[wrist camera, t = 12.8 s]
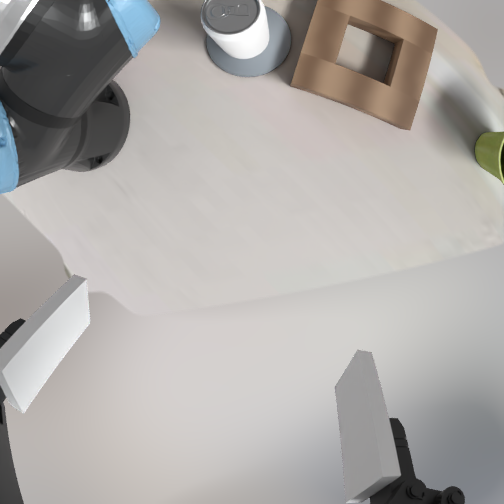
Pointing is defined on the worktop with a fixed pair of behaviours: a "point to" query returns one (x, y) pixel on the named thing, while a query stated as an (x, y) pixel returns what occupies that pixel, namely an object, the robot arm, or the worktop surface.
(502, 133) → the plant pot
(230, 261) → the worktop surface
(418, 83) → the pocket block
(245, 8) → the can
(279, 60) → the slate mat
